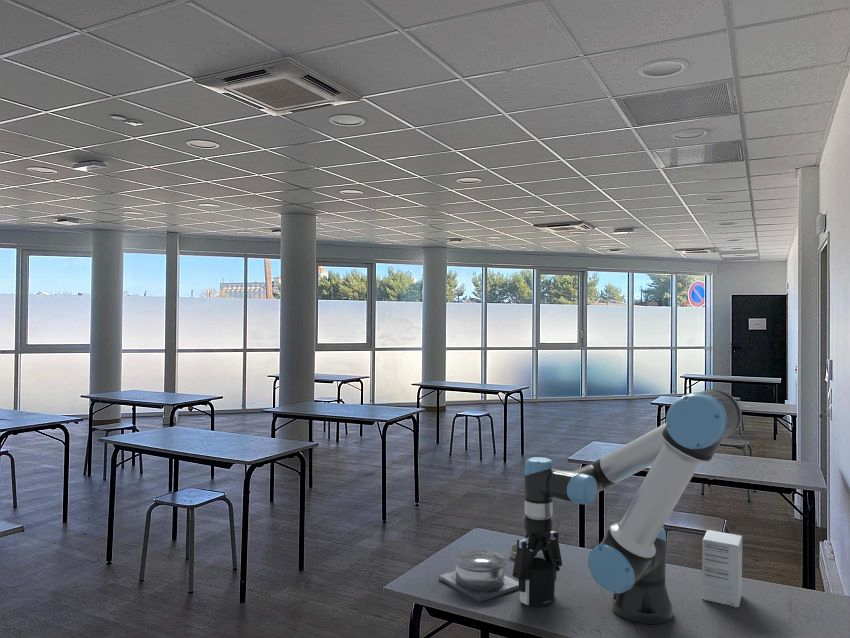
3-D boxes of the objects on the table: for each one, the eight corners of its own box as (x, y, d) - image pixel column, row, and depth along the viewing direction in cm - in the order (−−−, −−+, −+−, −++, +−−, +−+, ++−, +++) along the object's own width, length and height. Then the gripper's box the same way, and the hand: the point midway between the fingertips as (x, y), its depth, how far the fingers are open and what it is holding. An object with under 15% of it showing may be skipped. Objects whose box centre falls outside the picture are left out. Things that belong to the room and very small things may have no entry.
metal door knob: (522, 588, 177) (522, 562, 177) (479, 602, 168) (479, 575, 168) (480, 567, 192) (480, 543, 192) (439, 579, 182) (439, 555, 182)
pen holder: (519, 606, 166) (520, 569, 166) (520, 591, 175) (520, 555, 175) (555, 609, 164) (556, 571, 164) (554, 594, 173) (555, 558, 173)
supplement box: (706, 587, 178) (706, 528, 178) (742, 595, 173) (742, 534, 173) (701, 600, 170) (701, 538, 170) (738, 608, 165) (739, 545, 165)
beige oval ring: (535, 553, 204) (535, 538, 204) (540, 560, 198) (540, 544, 198) (507, 554, 203) (507, 538, 203) (512, 561, 197) (512, 545, 197)
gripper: (555, 505, 179) (555, 583, 179) (498, 519, 166) (498, 603, 166) (576, 512, 173) (575, 592, 173) (518, 527, 160) (518, 614, 160)
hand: (537, 598), depth 169 cm, fingers open, 9 cm apart
